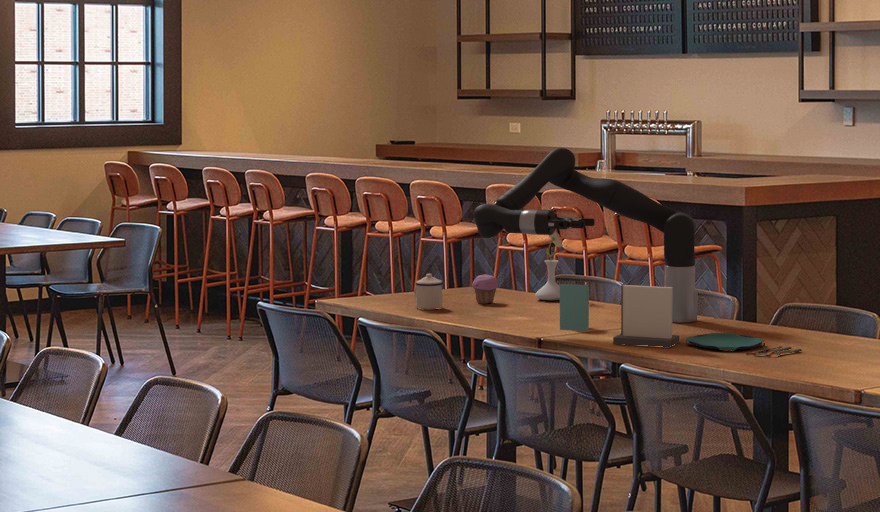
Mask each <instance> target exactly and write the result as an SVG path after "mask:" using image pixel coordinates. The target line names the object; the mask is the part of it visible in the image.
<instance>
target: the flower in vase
mask: <svg viewBox="0 0 880 512" xmlns="http://www.w3.org/2000/svg"><path fill="white" fill-rule="evenodd" d="M548 237H549V239H550V242H549V245H548V248H547V249H546V254H547V255H548V257H549V259H545V260H544V263H545V265H546V267H547V272H548V273H547V276H548V277H547V281H546V283H545V284H544V285H543V286H542V287H540V289H538V290H537V292H535V294H534V296H535V297H536V298H537V299H538V300H541V301H549V302H550V301H553V302H554V301H560V284H558V283H557V282H556V277H555V276H556V275H555V274H556V267H557V264H558V263H559V260H557V259H552V258H551V257H553V256H554V255H556V254H557V251H556V250H554V252H553V253H551V254H550V248H551V245H552V243H553V244H554V245H555V246H557V248H562V247H563V240H562V237H560V234H559V233H558V232H557V231H556V230H555V232H554V233H553V234H552V235H548Z"/></svg>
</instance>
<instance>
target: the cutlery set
mask: <svg viewBox="0 0 880 512" xmlns="http://www.w3.org/2000/svg"><path fill="white" fill-rule="evenodd" d="M687 343H689V344H691V345H693V346H696V347H700V348H705V349H710V350H711V349H712V350H720V351H721V350H732V352H734V351H737V350H738V351H740V350H741V351H743V350H748V349H750V350H751V349H754V348H757V347H760V346H761V345H762V348H761V349H760V350H753V352H760V351H766V350H769V351H771V350H774V351H772V352H776V354H777V355H780V354H781V353H782V352H783V350H784V351H788V352H789V353H792V352H799V351H803V350H802V348H797V349H793V350H792V347H791V346H787V347H783V346H781V345H780V346H777V347H773V348H772V347H771V348H768V347H765V345H766V343H765V341H764V340H763V339H762V338H761V337H760V338H759V337H754V336H751V335H744V334H737V333H731V332H710V333H705V334H704V333H703V334H697V335H695V336H688V337H687V338H686V339H685V345H688V344H687ZM763 346H764V347H765V348H764V347H763ZM776 348H778V349H776ZM780 348H782V349H780ZM789 349H791V350H789ZM769 351H766V352H760V353H769ZM777 351H779V352H777ZM783 353H784V352H783ZM783 353H782V354H783Z"/></svg>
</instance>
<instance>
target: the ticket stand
mask: <svg viewBox="0 0 880 512" xmlns="http://www.w3.org/2000/svg"><path fill="white" fill-rule="evenodd" d="M620 291H621V293H620V297H621V299H620V301H621V302H620V303H621V304H620V308H621V309H620V315H621V316H620V324H621V325H620V331H621V333H619V334H617V335H615V336H613V341H612V343H613V344H625V345H624V346H626V345H648V346H663V347H670V346H672V345H674V344H676V343H678V342H679V343H680V334H679V335H677V334H673V322H672V294H673V287H665V286H654V285H653V286H651V285H634V284H633V285H632V284H631V285H630V284H623V285H621V289H620ZM679 343H678V344H679ZM676 345H677V344H676Z"/></svg>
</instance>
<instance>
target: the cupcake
mask: <svg viewBox="0 0 880 512" xmlns="http://www.w3.org/2000/svg"><path fill="white" fill-rule="evenodd" d="M471 285H472V288H473V289H474V293H475V299H476V302H477V303H478V304H482V305H483V304H484V305H486V304H490V303H494V300H495V295H496V293H497V292H496V291H497V289H498V288H499V281H498V279H497V278H496V277H495V276H493V275H490V274H486V273H484V274H480V275H477V277H475V278H474V280H473V282H472V283H471Z"/></svg>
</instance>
